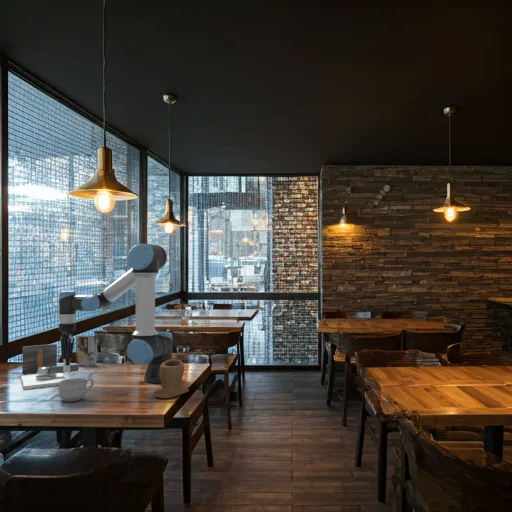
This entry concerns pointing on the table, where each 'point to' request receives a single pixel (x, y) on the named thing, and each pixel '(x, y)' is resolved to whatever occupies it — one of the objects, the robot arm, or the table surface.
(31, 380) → the base plate
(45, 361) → the board
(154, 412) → the table surface
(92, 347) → the coffee box
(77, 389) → the teacup
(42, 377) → the grey metal lever
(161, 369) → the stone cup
